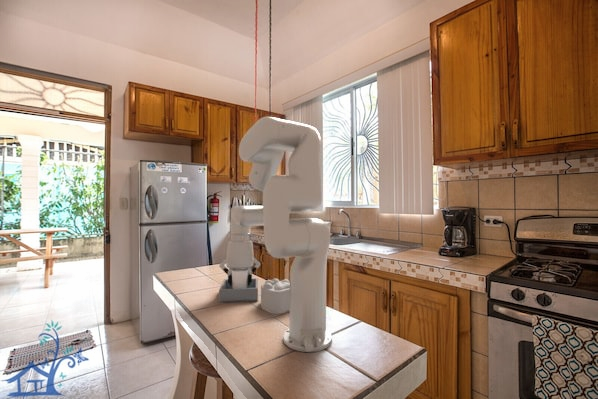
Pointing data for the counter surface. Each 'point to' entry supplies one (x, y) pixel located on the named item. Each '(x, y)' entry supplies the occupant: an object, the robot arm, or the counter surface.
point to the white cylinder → (239, 278)
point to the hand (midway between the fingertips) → (240, 284)
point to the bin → (238, 292)
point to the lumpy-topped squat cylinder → (275, 296)
